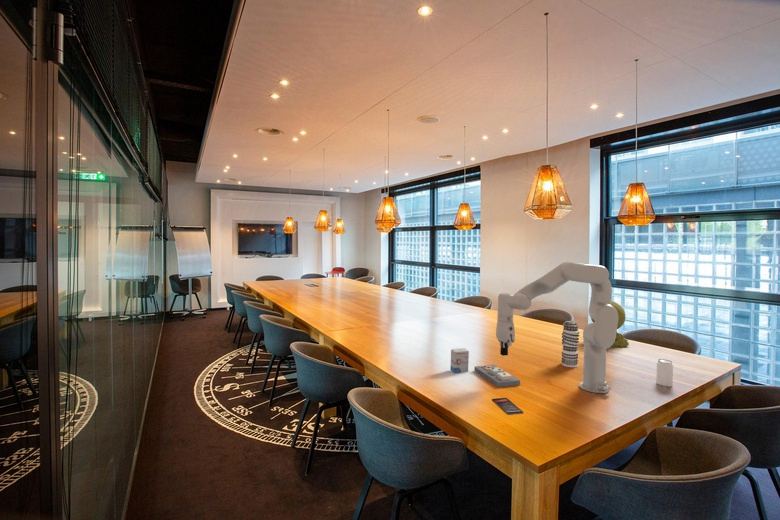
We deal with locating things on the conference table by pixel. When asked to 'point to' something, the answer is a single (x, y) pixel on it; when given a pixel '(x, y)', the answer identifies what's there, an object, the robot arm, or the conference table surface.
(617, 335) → the trophy
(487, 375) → the console
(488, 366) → the tile three
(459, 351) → the ink box
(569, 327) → the leaning tower model
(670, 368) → the can
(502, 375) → the tile one
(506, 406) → the smartphone
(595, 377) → the robot arm
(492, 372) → the tile two
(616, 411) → the conference table surface
